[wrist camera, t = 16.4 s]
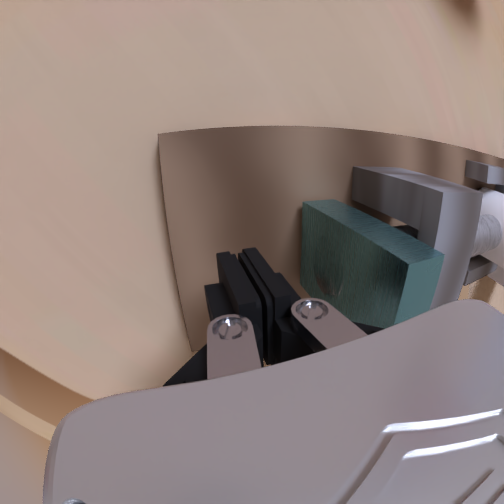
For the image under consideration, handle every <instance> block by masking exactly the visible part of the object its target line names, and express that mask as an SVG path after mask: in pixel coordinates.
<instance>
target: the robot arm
mask: <svg viewBox="0 0 504 504" xmlns="http://www.w3.org/2000/svg"><path fill="white" fill-rule="evenodd" d="M216 259H217V268H218V277H219V283H215V284H209V285H204V289H205V296H206V302H207V308H208V313H209V318H210V324H209V325H208V328H207V343H206V344H205V345H204V346H203V347H202V348H201V349H200V350H199V351H198V352H197V353H196V354H195V355H194V356H193V357H192V358H191V359H190V360H189V361H188V362H187V363H186V364H185V365H184V366H183V367H182V368H181V369H180V370H179V371H178V372H177V373H176V374H174V375H173V376H172V377H171V378H170V379H169V380H168V381H167V382H166V383H165V384H164V385H163V387H158V388H151V389H145V390H137V391H131V392H126V393H120V394H115V395H111V396H108V397H104V398H100V399H97V400H95V401H93V402H90V403H87V404H85V405H82V406H80V407H78V408H76V409H74V410H73V411H71V412H70V413H68V414H67V415H66V416H65V417H64V418H63V419H62V420H61V421H60V423H59V424H58V425H57V427H56V429H55V431H54V434H53V436H52V439H51V443H50V446H49V450H48V455H47V460H46V467H45V475H44V486H43V504H504V314H502V313H501V312H499V311H498V310H497V309H495V308H494V307H492V306H491V305H489V304H488V303H486V302H484V301H481V300H476V299H463V300H457V301H453V302H449V303H446V304H443V305H441V306H438V307H436V308H434V309H431V310H429V311H426V312H424V313H422V314H419V315H417V316H415V317H412V318H410V319H408V320H405V321H403V322H401V323H398V324H396V325H393V326H391V327H388V328H386V329H384V328H380V327H376V326H371V325H366V324H362V323H357V322H353V321H350V320H349V319H348V318H346V317H345V316H344V315H343V314H341V313H340V312H339V311H338V310H337V309H335V308H334V307H333V306H332V305H330V304H329V303H328V302H326V301H324V300H321V299H317V298H305V299H301V298H300V296H299V295H298V294H297V293H296V291H295V290H294V289H293V288H292V286H291V285H290V284H289V283H288V281H287V280H286V279H285V278H284V276H283V275H282V274H281V273H280V272H277V273H275V272H274V271H273V270H272V268H271V267H270V266H269V264H268V263H267V262H266V260H265V259H264V258H263V256H262V255H261V254H260V252H259V251H258V250H257V249H256V247H252V248H246V249H242V253H238V259H237V257H236V255H235V254H231V253H230V252H229V251H226V252H220V253H216ZM263 358H264V360H265V363H266V364H267V365H269V364H271V366H267V367H264V365H263Z"/></svg>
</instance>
